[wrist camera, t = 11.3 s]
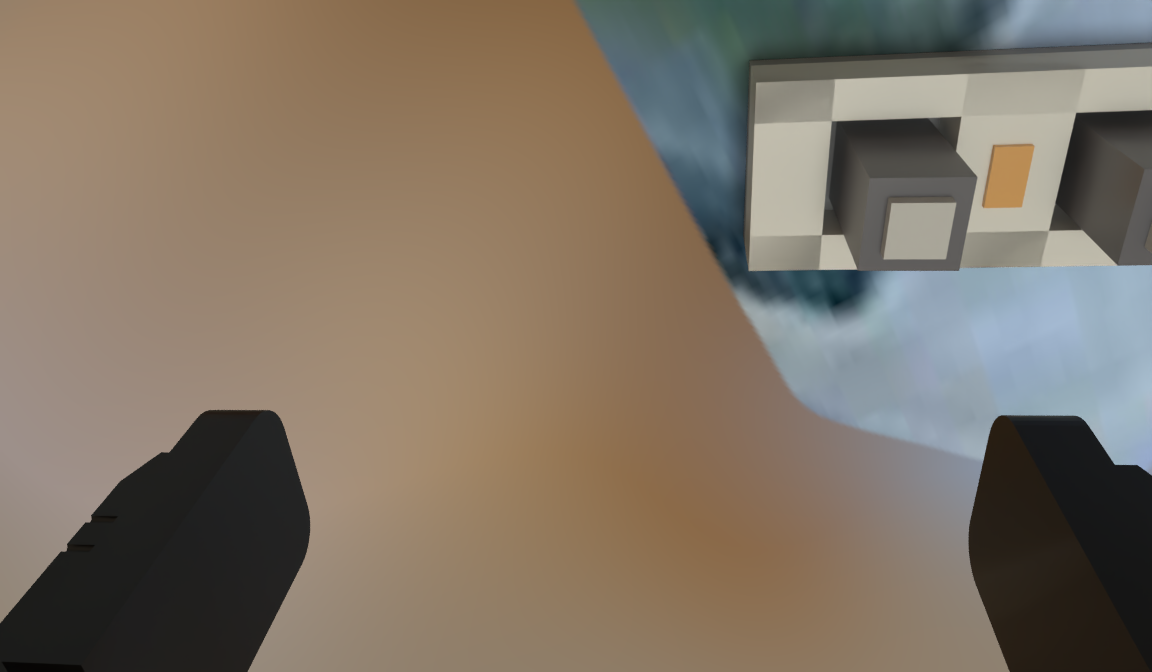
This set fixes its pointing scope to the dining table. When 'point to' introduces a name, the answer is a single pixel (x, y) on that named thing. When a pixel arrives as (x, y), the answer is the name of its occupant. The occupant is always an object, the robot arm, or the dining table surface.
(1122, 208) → the twin plug
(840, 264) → the strip
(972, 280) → the dining table surface
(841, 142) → the plug
